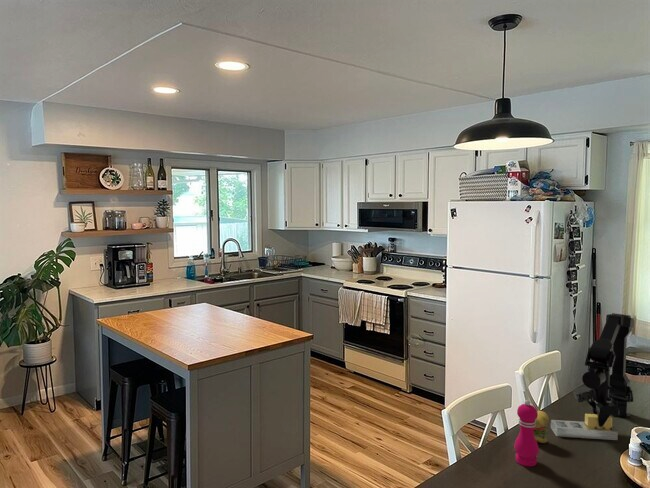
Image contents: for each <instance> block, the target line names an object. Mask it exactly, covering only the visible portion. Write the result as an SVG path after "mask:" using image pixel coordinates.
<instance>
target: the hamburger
mask: <svg viewBox="0 0 650 488" xmlns="http://www.w3.org/2000/svg"><path fill="white" fill-rule="evenodd" d="M537 413H538V417H537V418H536V420H535V421H536V423H535V424H536V426H535V427H534V437H535V439H536V441H537V443H540V444H547V442H548V441H549V440H548V438H547V434H548V426H547V424H548V423H549V421H550V417H549V415H548V414H547V413H546V412H545V411H542V410H537Z"/></svg>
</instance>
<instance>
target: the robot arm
mask: <svg viewBox="0 0 650 488" xmlns="http://www.w3.org/2000/svg"><path fill="white" fill-rule="evenodd" d="M634 325H635V318H633V317H632V315H630V314H623V313H622V314H621V313H615V312H613V313H610V314H606V319H605V324H604V326H603V329H602V331H601V333H600V336H599V338H598V339H596V340H595V341H593V342H592V344H591V345H590V347H589V348H588V350H587V354H586V358H585V361H584V362H585V363H584V366H586V367H589V368H588V370H587V371H586V372H584V374H583V375H582V377H581V379H582V380H581V381H582V382H583V385H584V386H581V387H577V388H573V389H572V392H573V393H572V394H573V395H574V399H575V400H576V401H577V402H578V403H584V402H587V404H588V405H589V406H590V408H591V412H592V414H597V416H598V424H599V427H603V425H604V424H605V422H606V421H607V419H608V418H609V416H611V417H612V416H613V417H623V418H624V417H625V418H632V416H631V414H629V412H628V403H632V402H633V403H634V396H635V395H634V393H633V389H632V386H631V381H630V378H629V377H628V376H627V374H626V368H627V367H626V366H627V346H628V344H627V343H628V342H627V341H628V336H629V335H630V334H631V332H632V331H633V328H634V327H635V326H634Z"/></svg>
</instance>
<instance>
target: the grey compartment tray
mask: <svg viewBox="0 0 650 488" xmlns="http://www.w3.org/2000/svg"><path fill="white" fill-rule="evenodd" d="M550 429H551V430H552V432H553V433H554V435H555V436H556V437H563V438H564V437H565V438H576V439H577V438H579V439H580V438H581V439H593V440H609V441H611V440H612V441H618V439H619V437H618V436H619V431H618V430H617V429H616V428H615V427H614V426H613V425H612V427H610V430H604V429H603V428H602V427H599V426H595V429H589V428H588V427H587V424H586V423H585V421H577V420H562V419H561V420H558V419H551V420H550Z"/></svg>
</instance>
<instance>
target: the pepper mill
mask: <svg viewBox="0 0 650 488" xmlns="http://www.w3.org/2000/svg"><path fill="white" fill-rule="evenodd" d="M516 411H517V417H518V425H519V434H518V436H517V437H516V439H515V441H514V445H513V447H514V451H515V452H516V453H515V461H516V463H518V464H519V465H521V466H524V467H535V466H536V465H538V454H539V453H540V450H539V445H538V442H537V441H536V439H535V437H534V427H535V426H536V424H535V423H536V421H535V420H536V418H537V417H538V413H537V411H538V410H537V408H536V407H535V406H534V405H532V403H531V401H530V400H529V399H526V400H525V401H524V403H523V404H521V405H519V406H518V407H517V409H516Z"/></svg>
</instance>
